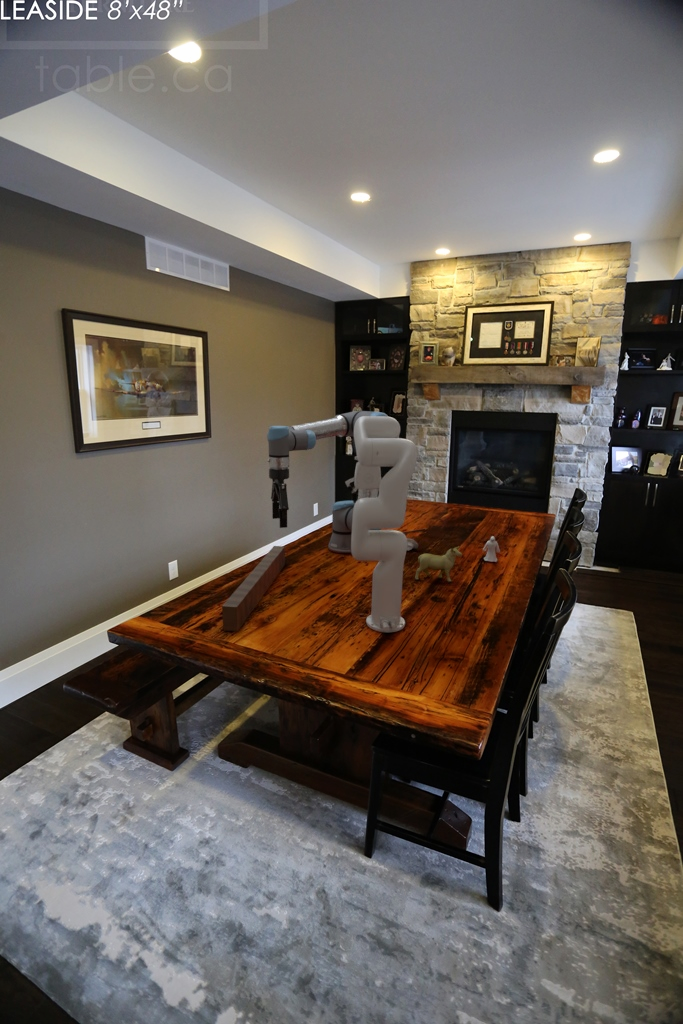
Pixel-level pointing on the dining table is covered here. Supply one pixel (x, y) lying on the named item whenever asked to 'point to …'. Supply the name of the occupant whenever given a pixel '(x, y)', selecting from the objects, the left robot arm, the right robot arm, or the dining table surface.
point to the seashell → (411, 544)
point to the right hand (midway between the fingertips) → (366, 502)
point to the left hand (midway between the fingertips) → (279, 522)
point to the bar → (252, 589)
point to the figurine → (491, 550)
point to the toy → (438, 563)
